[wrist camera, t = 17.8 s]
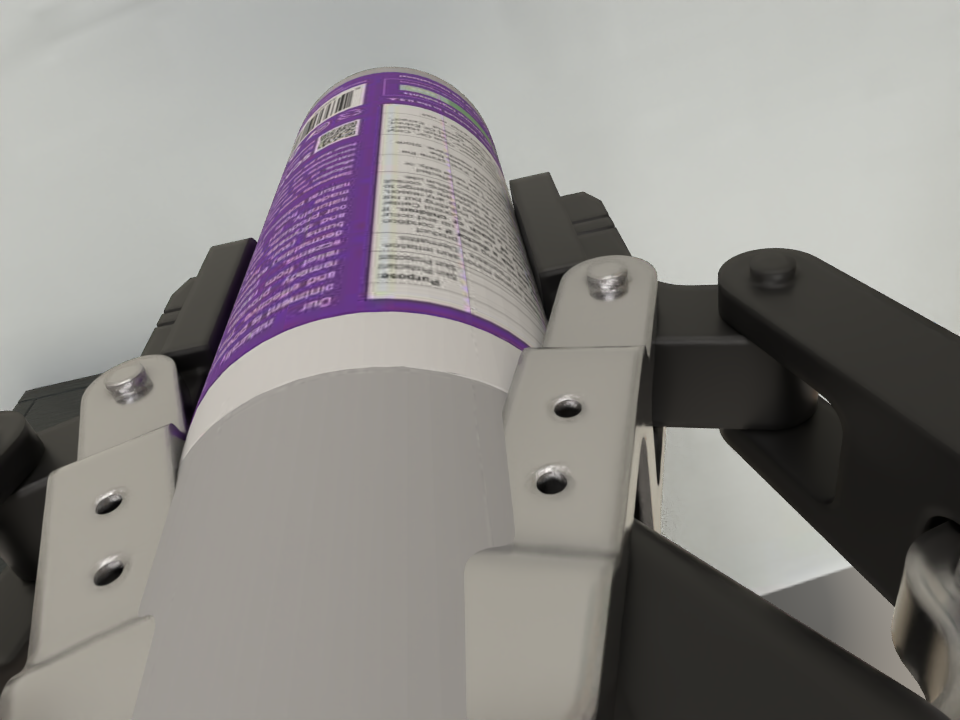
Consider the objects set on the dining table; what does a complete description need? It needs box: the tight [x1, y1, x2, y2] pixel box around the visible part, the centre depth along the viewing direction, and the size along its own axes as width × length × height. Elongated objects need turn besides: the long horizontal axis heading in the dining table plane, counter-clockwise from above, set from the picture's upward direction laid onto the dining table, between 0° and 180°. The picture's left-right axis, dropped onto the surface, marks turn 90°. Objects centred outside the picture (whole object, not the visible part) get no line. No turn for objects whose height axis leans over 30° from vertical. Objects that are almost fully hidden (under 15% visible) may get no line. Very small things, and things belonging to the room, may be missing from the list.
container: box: [132, 67, 548, 720], centre depth 11 cm, size 5×5×15 cm
